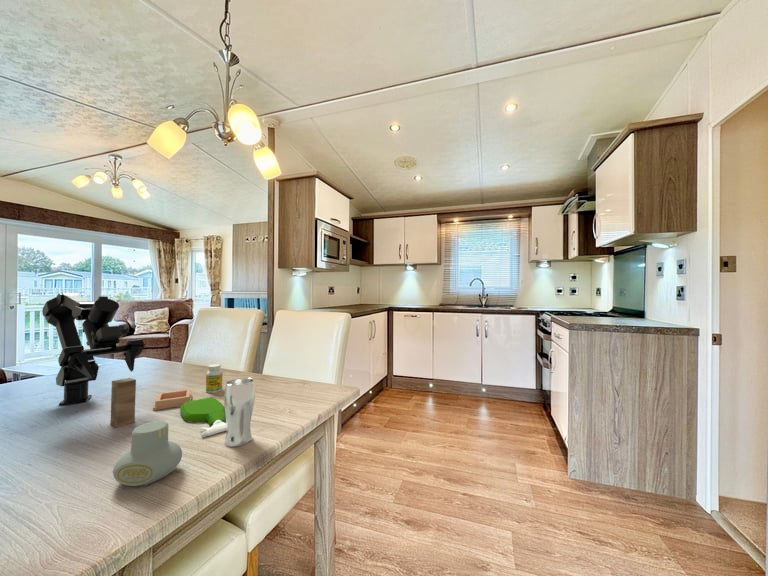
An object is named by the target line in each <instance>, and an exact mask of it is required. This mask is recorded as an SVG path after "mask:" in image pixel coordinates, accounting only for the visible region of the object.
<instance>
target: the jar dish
mask: <svg viewBox="0 0 768 576" xmlns="http://www.w3.org/2000/svg"><path fill="white" fill-rule="evenodd" d="M192 396H193V393H191V388H190V389H189V388H188V389H181V390H174V391H167V392H166V391H165V392H160V393H159V392H158V394H157V397H156V400H155V401H154V404H153V407H152V411H156V410H157V411H158V410H165V409H171V408H177V407H178V408H179V407H181V406H182V405H183V404H184V403H185V402H189V401H192Z"/></svg>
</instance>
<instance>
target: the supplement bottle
mask: <svg viewBox="0 0 768 576" xmlns="http://www.w3.org/2000/svg"><path fill="white" fill-rule="evenodd" d="M207 370H208V371H207V372H206V374H205V375H206V376H205V392H206V393H207V394H208V393H209V394H216V393H219V392H221V391H222V390H223V371H222V368H221V364H218V363H217V364H216V363H215V364H210V365H208V367H207Z"/></svg>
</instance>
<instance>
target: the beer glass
mask: <svg viewBox="0 0 768 576" xmlns="http://www.w3.org/2000/svg"><path fill="white" fill-rule="evenodd" d="M255 391H256V390H255V379H254V378H251V377H237V378H232V379H229V380H227V381H226V382H225V385H224V393H223V394H224V395H223V406H224V409H225V416H226V419H225V423H227V430H226V436H225V439H224V445H225V446H227V447H229V448H237V447H242V446H244V445H247V444H249V442H251V441H252V439H253V438H252V436H253V435H252V431H251V422H252V415H253V411H254V406H255V399H256V398H255Z"/></svg>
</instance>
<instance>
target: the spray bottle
mask: <svg viewBox="0 0 768 576" xmlns="http://www.w3.org/2000/svg"><path fill="white" fill-rule="evenodd" d="M179 411H180V412H179V413H180V415H181V417H182V419H183V420H184V421H185V422H188V423H201V422H202V423H203V422H208V427H203V426H202V427H199V430H201V431H203V432H201V433H200V437H201V438H204V437H209V436H212V435H216V434H219V433H222V432H225V431H226V432H227V422H226V416H225V409H224V404H223V403H222V402H221V401H219V400H218V399H217V398H215V397H213V396H209V397H205V398H199V399H195V400H191V401H189V402H185V403H184V404H183V405H182V406H180V409H179Z"/></svg>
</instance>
